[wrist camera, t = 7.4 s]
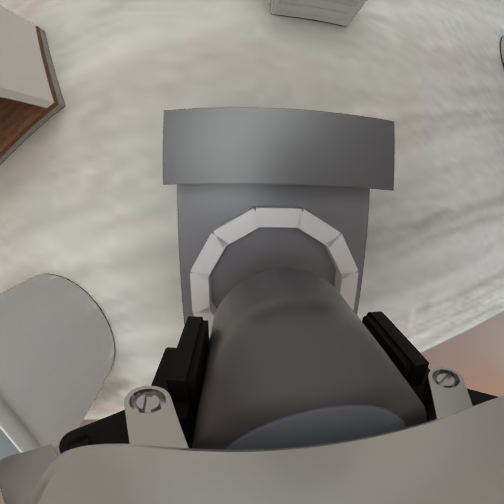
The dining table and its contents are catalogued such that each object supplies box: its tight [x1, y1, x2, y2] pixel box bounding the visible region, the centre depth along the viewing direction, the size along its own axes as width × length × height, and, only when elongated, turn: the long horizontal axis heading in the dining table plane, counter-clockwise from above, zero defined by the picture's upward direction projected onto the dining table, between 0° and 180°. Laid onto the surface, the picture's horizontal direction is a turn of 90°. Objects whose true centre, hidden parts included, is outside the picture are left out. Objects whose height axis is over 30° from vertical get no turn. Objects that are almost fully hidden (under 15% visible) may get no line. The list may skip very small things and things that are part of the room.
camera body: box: [163, 107, 394, 340], centre depth 19 cm, size 11×15×11 cm
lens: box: [192, 268, 427, 450], centre depth 9 cm, size 6×6×7 cm
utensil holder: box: [0, 274, 115, 461], centre depth 18 cm, size 15×15×18 cm
